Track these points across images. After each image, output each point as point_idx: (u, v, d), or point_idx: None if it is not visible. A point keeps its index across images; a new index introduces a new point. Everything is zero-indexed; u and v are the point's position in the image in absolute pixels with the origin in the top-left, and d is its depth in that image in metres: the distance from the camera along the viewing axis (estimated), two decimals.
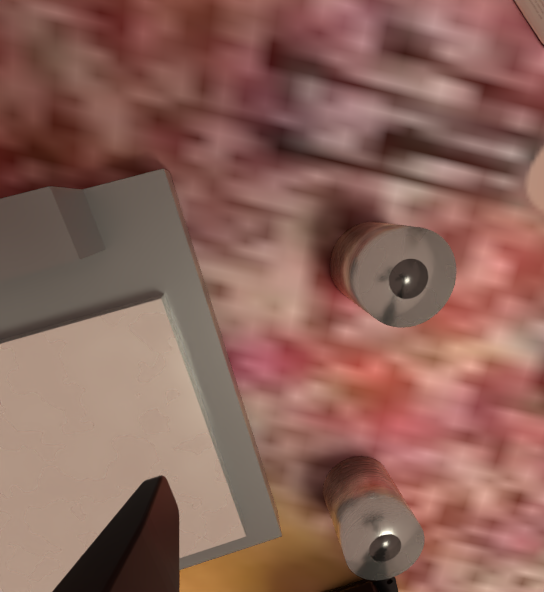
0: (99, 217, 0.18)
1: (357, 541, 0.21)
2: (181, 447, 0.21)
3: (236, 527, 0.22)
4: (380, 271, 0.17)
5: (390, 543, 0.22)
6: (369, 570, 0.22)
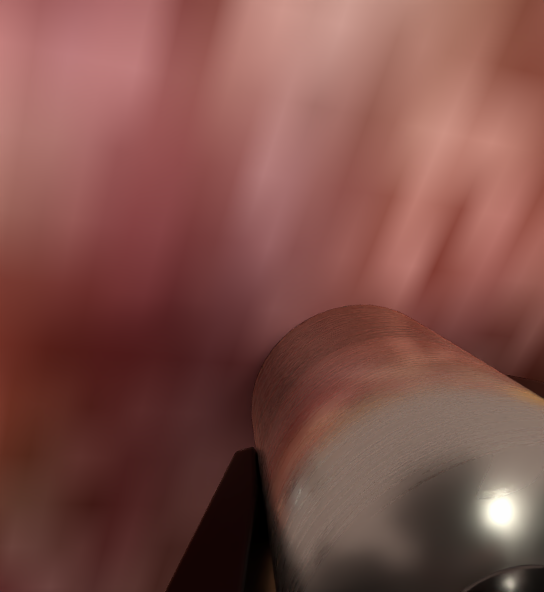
0: None
1: None
2: None
3: None
4: None
5: None
6: None
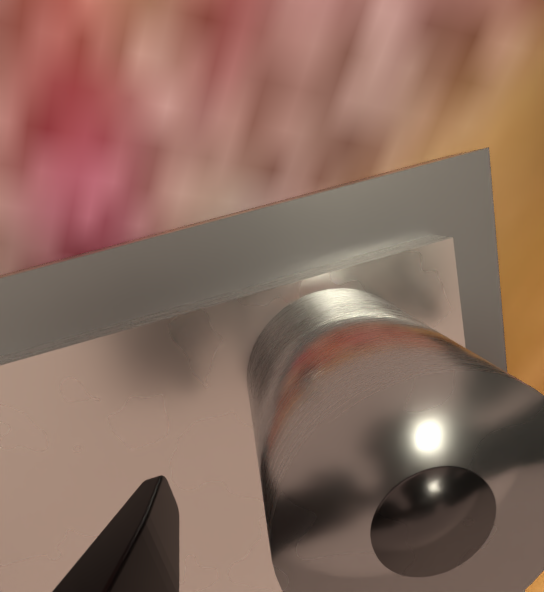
0: None
1: None
2: (204, 372, 0.10)
3: (423, 259, 0.10)
4: None
5: (418, 505, 0.05)
6: (519, 554, 0.06)
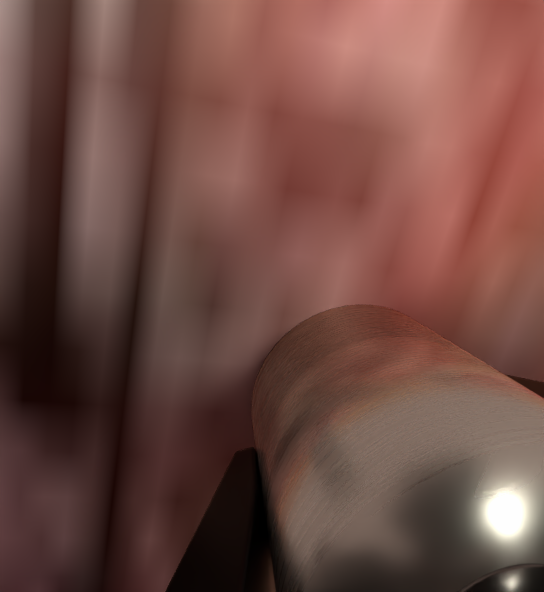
0: None
1: None
2: None
3: None
4: None
5: None
6: None
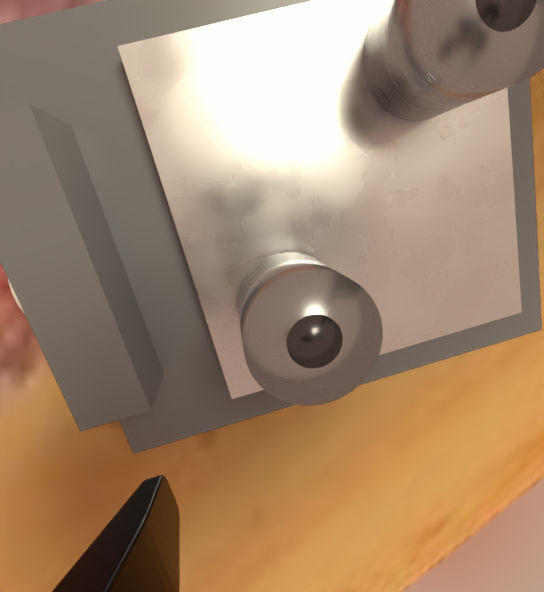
0: None
1: (475, 59, 0.11)
2: (336, 45, 0.15)
3: None
4: (302, 381, 0.13)
5: None
6: None
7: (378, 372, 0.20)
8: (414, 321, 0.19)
